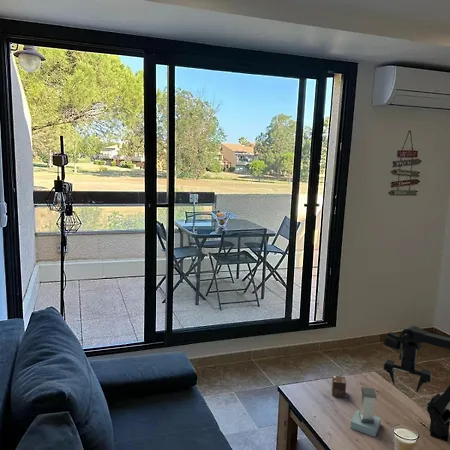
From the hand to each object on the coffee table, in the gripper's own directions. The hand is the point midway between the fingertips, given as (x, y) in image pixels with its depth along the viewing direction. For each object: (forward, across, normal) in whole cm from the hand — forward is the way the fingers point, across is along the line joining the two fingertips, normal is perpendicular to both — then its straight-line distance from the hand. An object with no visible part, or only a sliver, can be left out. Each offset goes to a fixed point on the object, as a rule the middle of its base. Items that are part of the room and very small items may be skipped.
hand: (405, 388), depth 179 cm
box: (+13, +29, -1) cm, 32 cm away
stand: (+13, +12, +17) cm, 25 cm away
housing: (+10, +12, +17) cm, 23 cm away
